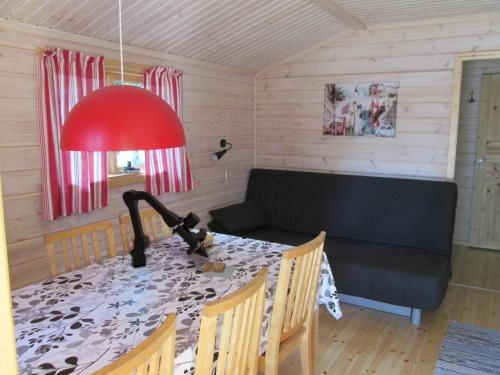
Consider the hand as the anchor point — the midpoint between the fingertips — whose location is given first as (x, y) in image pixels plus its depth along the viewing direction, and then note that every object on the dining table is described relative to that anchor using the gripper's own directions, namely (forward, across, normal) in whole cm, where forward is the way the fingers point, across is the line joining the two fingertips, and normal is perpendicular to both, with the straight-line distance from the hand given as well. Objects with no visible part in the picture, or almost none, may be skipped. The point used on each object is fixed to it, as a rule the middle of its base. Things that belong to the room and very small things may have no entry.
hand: (208, 257), depth 216 cm
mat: (+9, 0, +1) cm, 9 cm away
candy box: (-2, +31, +12) cm, 33 cm away
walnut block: (+2, 0, +5) cm, 5 cm away
